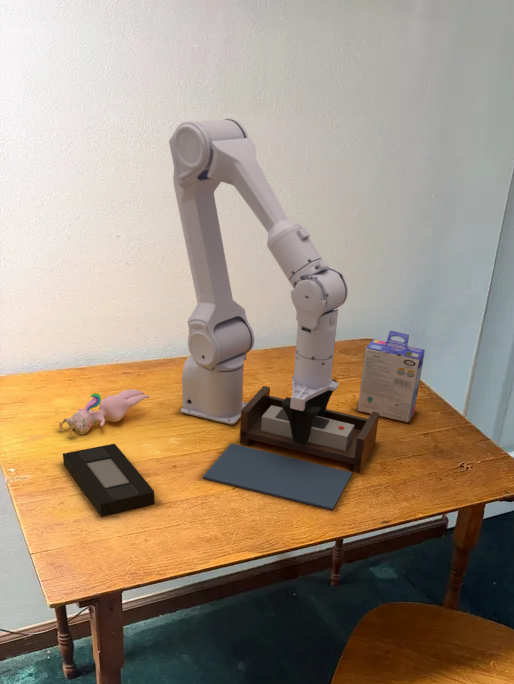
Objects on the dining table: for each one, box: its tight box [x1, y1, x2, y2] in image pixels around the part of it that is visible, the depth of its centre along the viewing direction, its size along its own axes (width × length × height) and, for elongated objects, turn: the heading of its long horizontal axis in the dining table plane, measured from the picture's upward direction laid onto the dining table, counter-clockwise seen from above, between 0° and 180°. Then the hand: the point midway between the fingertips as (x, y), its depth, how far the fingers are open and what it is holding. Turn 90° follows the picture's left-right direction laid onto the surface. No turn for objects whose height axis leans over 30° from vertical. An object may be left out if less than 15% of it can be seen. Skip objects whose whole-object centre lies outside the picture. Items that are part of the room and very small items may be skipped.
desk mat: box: [202, 442, 353, 511], centre depth 120 cm, size 20×11×1 cm, turn 78°
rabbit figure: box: [58, 388, 150, 439], centre depth 123 cm, size 6×6×15 cm
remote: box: [261, 405, 354, 451], centre depth 125 cm, size 14×4×3 cm, turn 78°
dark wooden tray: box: [239, 385, 380, 474], centre depth 127 cm, size 20×10×6 cm, turn 78°
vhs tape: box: [62, 443, 156, 517], centre depth 111 cm, size 8×14×2 cm, turn 37°
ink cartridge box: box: [356, 330, 426, 423], centre depth 139 cm, size 10×6×14 cm, turn 78°
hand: (307, 432), depth 126 cm, fingers open, 7 cm apart
